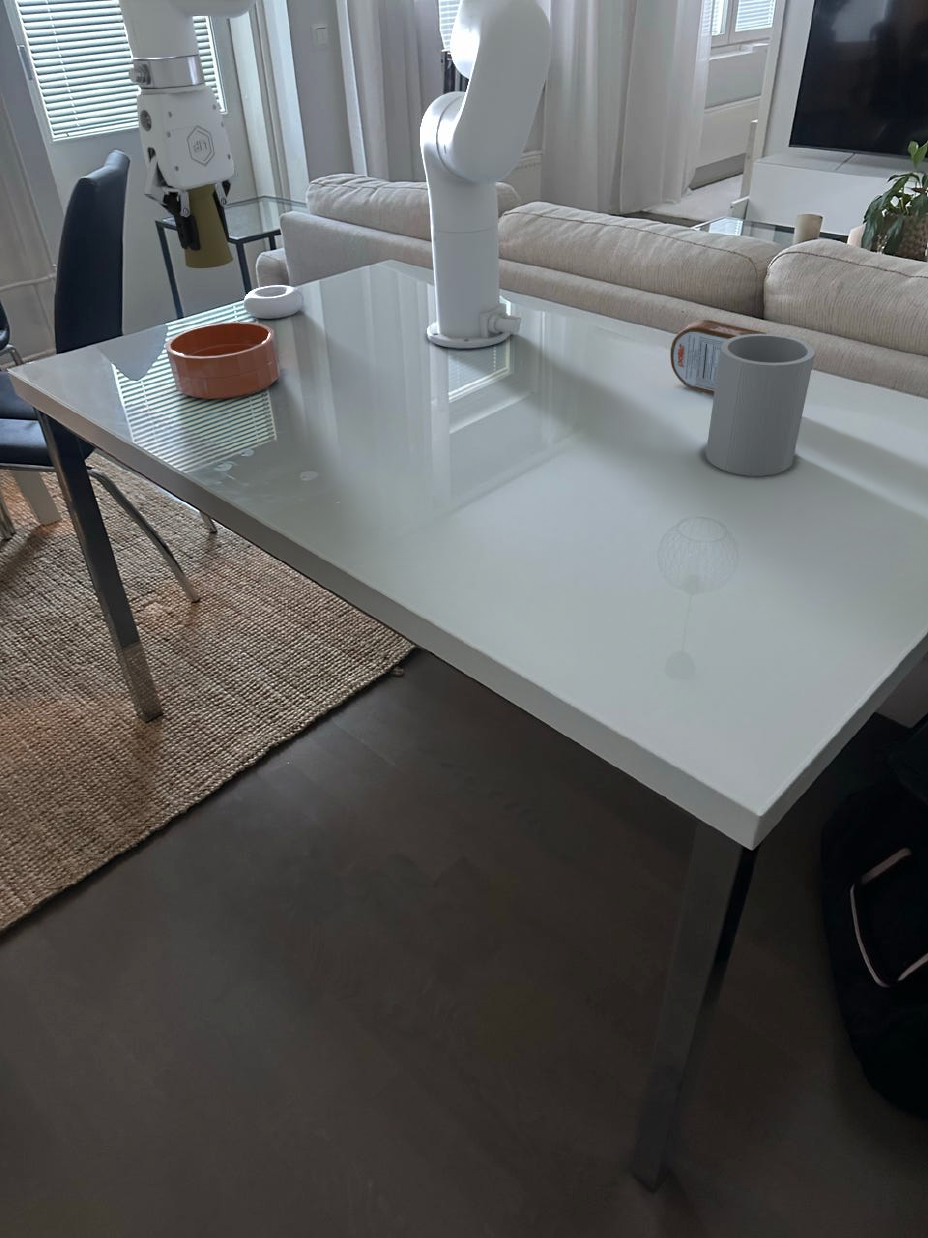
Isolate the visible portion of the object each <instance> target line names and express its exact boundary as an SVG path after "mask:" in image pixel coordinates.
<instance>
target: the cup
mask: <svg viewBox="0 0 928 1238" xmlns="http://www.w3.org/2000/svg"><path fill="white" fill-rule="evenodd" d="M815 356H816V350H815V348H814V346H812V345H811V343H808V342H806V341H804V340H802V339H799V338H796V337H793V336H788V335H783V334H774V333H767V334H747V335H740V336H736V337H733V338H730V339H728V340H726V341H724V342H723V343H722V345H721V349H720V356H719V363H718V371H717V378H716V385H715V392H714V394H713V400H712V407H711V414H710V422H709V429H708V436H707V443H706V451H705V455H706V456H705V457H706V459H707V461H708V462H709V463H711V465H713V466H715V467H716V468H718V469H720V470H722V471H725V472H727V473H731V474H735V475H739V476H748V477H749V476H752V477H764V476H771V475H776V474H779V473H782V472H784V471H786V470H788V469H789V468H790V467H791V466H792V464H793V462H794V457H795V453H796V447H797V443H798V437H799V432H800V428H801V423H802V418H803V412H804V408H805V403H806V398H807V394H808V389H809V384H810V379H811V375H812V370H813V365H814V359H815Z"/></svg>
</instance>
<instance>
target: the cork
mask: <svg viewBox="0 0 928 1238" xmlns="http://www.w3.org/2000/svg"><path fill="white" fill-rule="evenodd" d="M172 187H173V186H172ZM214 189H215V183H213V184H206V185H204V186H201V187H197V188H192V189H188V193H189V206H190V215H192V216H194V217H195V219H196V224H197V228H198V233H199V241H200V245H201V249H200V250H198V251H194V250H191V249H190V248H189V246H188V249H183V252H184V261H185V262H184V263H185V266H186V267H187V268H191V269H211V268H217V267H222V266H226V265H228V264H231V263H232V262H233V261H234V257H233V254H232V252H231V248H230V245H229V241H227V239H226V236H225V233H224V230H223V227H222V223H221V220H220V217H219V214H218V211H217V208H216V205H215V202H214V199H213V196H212V194H213V192H214ZM175 194H176V195H177V198H178V193H175Z"/></svg>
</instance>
